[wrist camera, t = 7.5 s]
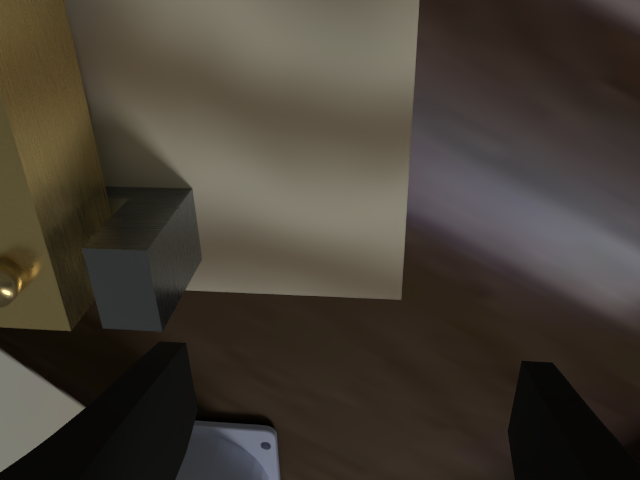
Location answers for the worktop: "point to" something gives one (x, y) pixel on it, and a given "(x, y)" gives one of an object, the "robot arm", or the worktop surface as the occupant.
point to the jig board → (263, 131)
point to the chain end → (143, 256)
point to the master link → (45, 171)
